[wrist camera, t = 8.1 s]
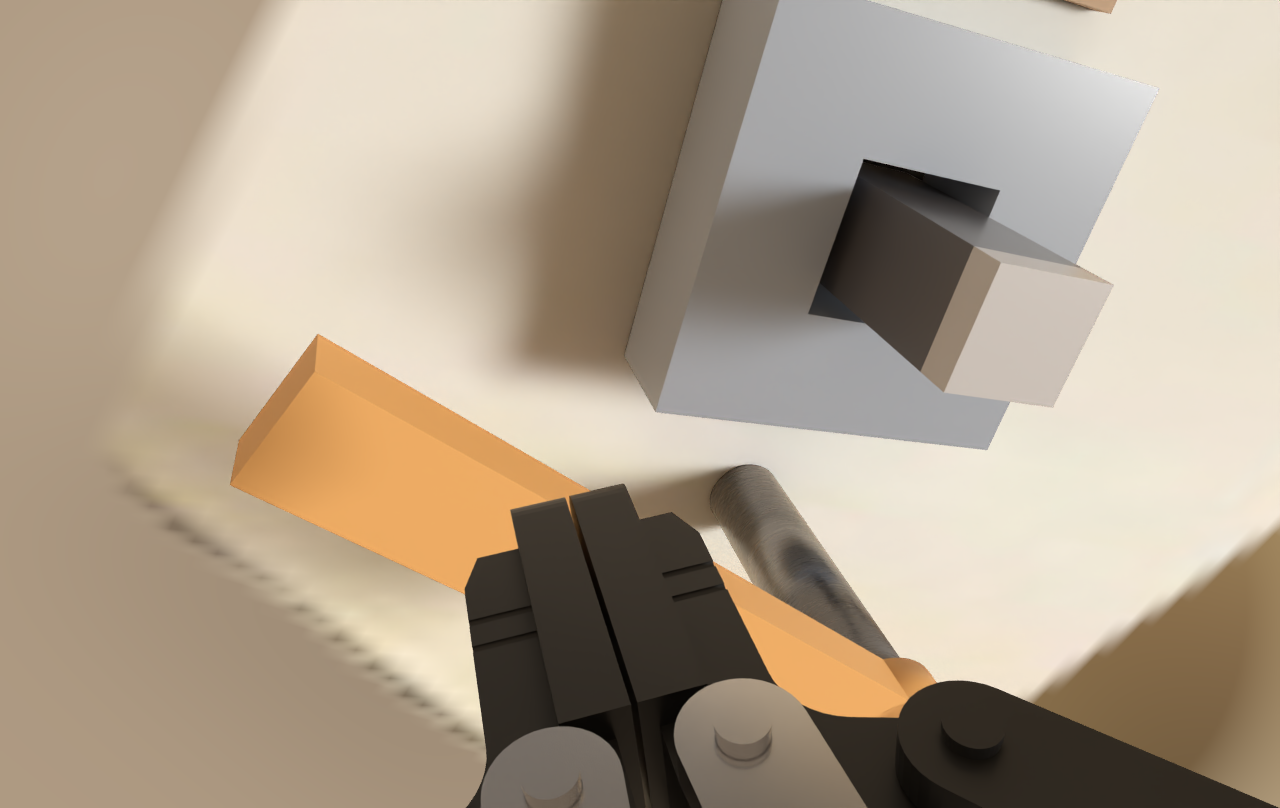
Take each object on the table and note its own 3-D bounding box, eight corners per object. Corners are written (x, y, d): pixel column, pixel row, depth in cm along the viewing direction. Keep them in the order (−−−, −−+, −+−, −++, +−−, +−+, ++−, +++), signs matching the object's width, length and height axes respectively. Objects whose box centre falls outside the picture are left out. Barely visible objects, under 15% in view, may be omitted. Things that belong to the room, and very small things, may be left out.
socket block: (732, -38, 24) (786, -25, 21) (1073, 65, 27) (1159, 87, 24) (624, 355, 28) (655, 412, 25) (929, 396, 32) (987, 450, 29)
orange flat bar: (956, 684, 24) (986, 725, 23) (870, 765, 25) (895, 809, 24) (331, 315, 15) (329, 351, 14) (226, 457, 16) (216, 502, 15)
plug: (817, 152, 27) (1001, 262, 19) (906, 172, 28) (1113, 284, 20) (784, 251, 28) (943, 392, 20) (870, 267, 29) (1052, 407, 21)
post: (722, 462, 31) (847, 663, 23) (786, 468, 32) (928, 665, 24) (701, 522, 32) (815, 734, 24) (764, 526, 33) (894, 733, 25)
